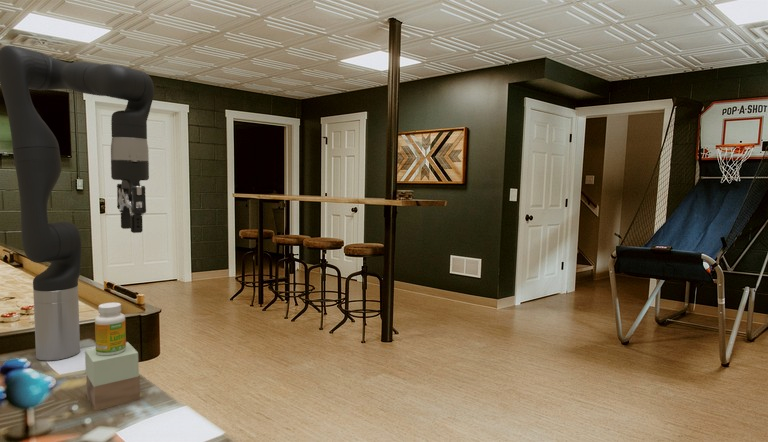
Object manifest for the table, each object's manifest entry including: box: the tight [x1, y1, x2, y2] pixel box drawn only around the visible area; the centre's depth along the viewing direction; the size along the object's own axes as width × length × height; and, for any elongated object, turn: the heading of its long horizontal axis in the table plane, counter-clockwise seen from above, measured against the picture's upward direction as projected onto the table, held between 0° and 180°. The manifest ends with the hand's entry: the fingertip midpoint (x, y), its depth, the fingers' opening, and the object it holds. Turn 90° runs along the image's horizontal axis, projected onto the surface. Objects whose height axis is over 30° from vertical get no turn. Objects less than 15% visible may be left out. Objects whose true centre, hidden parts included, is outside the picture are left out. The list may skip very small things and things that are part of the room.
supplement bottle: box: [94, 302, 127, 356], centre depth 98 cm, size 5×5×10 cm
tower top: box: [84, 341, 140, 387], centre depth 99 cm, size 8×8×5 cm
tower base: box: [85, 374, 141, 412], centre depth 99 cm, size 8×8×5 cm
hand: (131, 230), depth 110 cm, fingers open, 8 cm apart
